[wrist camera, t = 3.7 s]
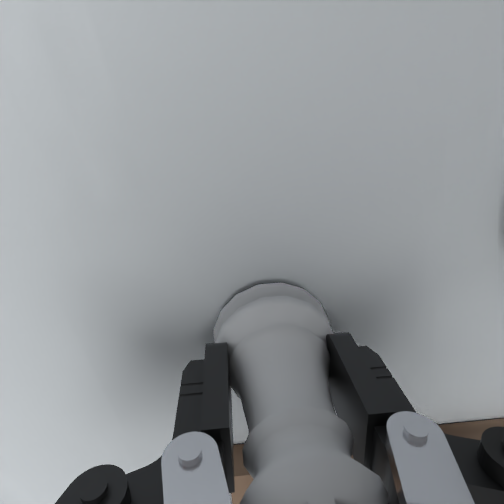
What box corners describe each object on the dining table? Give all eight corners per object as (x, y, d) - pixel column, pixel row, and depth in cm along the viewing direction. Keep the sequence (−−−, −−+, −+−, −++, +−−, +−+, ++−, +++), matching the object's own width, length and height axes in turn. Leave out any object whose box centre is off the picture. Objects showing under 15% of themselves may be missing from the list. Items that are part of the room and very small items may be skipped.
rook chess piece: (258, 391, 15) (293, 659, 8) (189, 321, 14) (150, 569, 6) (346, 334, 14) (480, 568, 7) (284, 253, 13) (369, 441, 6)
